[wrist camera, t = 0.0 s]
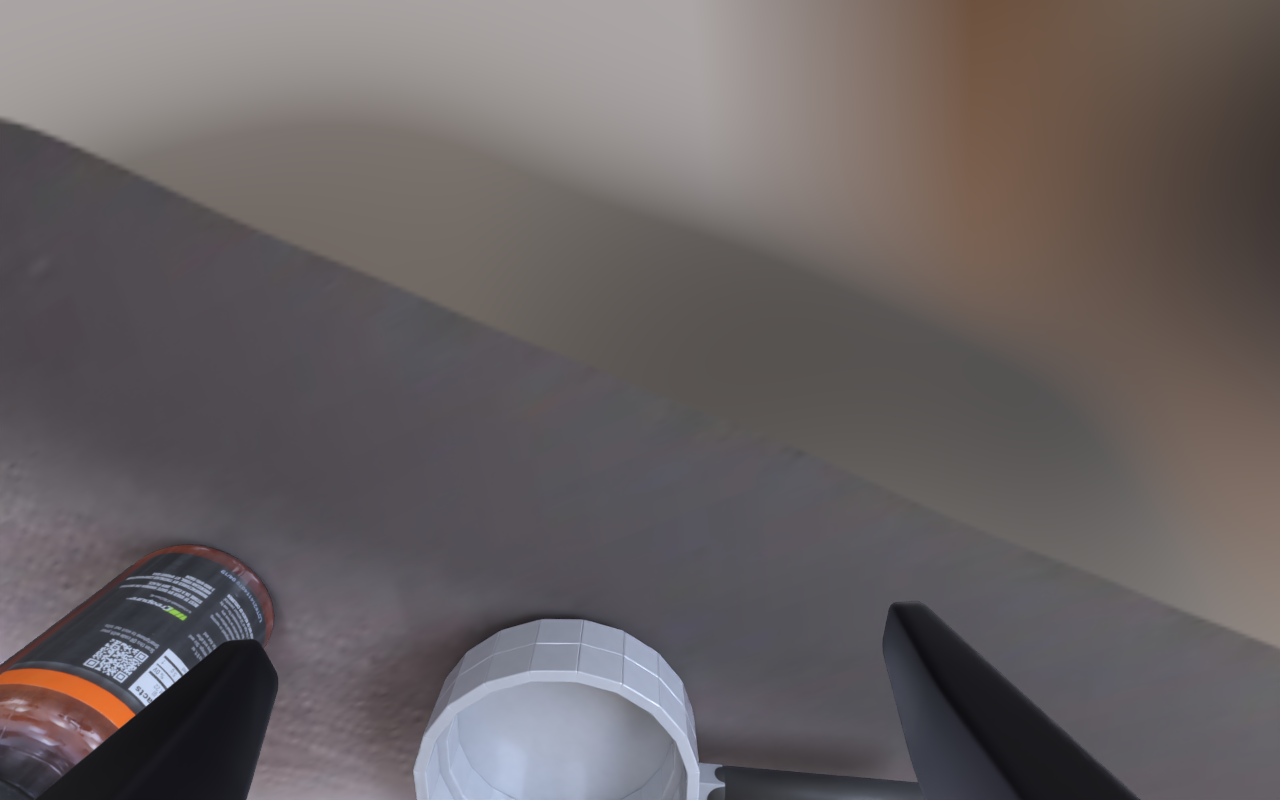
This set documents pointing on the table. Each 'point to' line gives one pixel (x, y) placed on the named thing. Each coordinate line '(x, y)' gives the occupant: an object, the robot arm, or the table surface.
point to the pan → (559, 720)
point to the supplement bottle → (119, 658)
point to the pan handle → (793, 785)
